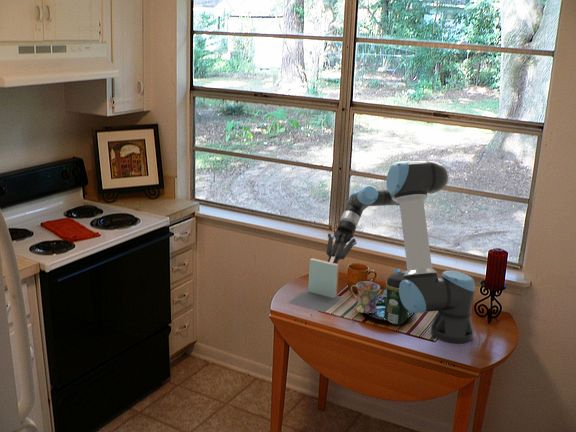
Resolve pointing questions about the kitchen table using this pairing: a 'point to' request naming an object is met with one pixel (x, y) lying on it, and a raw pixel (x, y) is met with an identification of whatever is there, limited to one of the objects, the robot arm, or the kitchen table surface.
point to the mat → (315, 301)
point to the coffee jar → (395, 300)
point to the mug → (366, 296)
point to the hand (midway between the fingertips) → (328, 271)
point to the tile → (323, 277)
